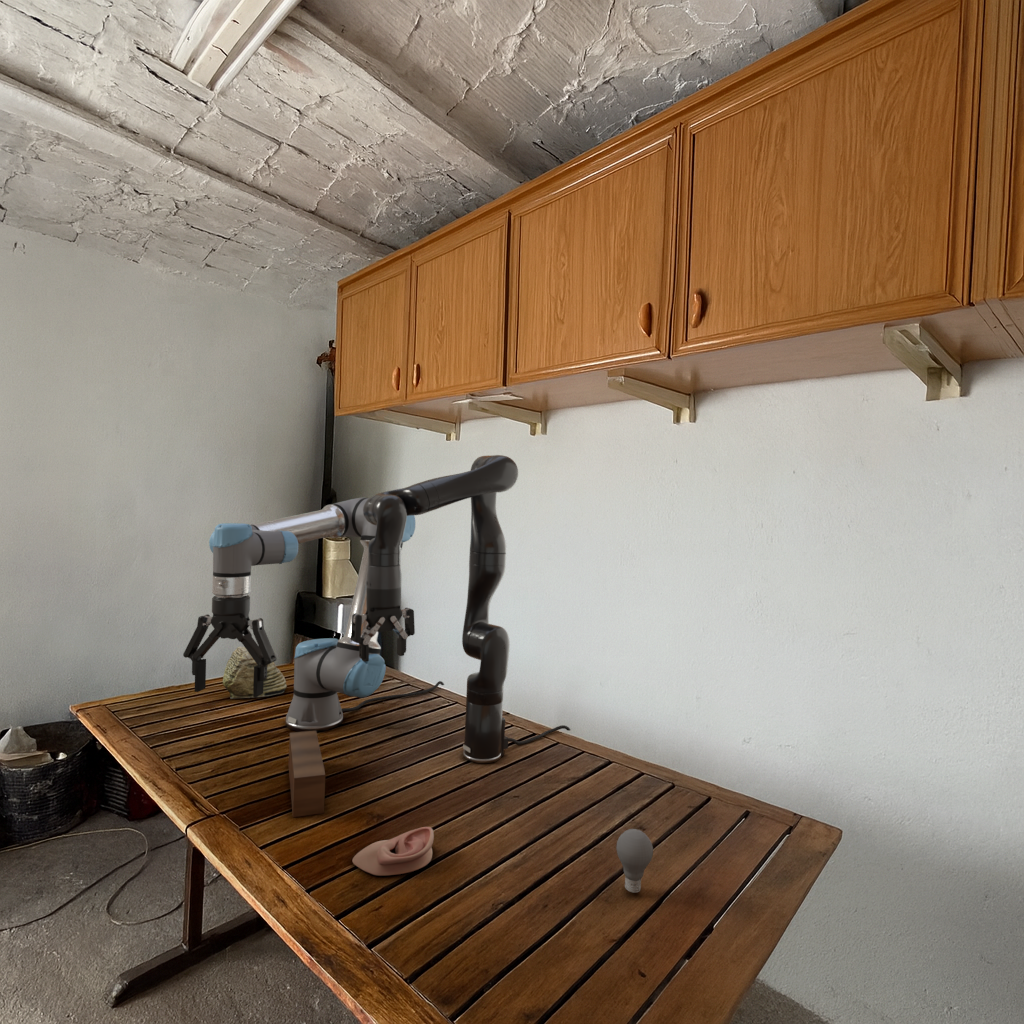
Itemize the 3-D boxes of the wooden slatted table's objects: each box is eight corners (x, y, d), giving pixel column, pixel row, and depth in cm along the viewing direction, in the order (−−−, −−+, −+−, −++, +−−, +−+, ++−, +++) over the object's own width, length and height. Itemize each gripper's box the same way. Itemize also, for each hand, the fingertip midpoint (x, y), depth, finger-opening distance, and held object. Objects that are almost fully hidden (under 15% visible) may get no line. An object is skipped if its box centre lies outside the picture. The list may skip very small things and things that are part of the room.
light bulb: (610, 879, 108) (613, 822, 108) (644, 879, 109) (647, 822, 109) (619, 902, 102) (622, 840, 102) (655, 901, 103) (658, 840, 103)
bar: (288, 765, 148) (289, 732, 148) (314, 763, 150) (316, 730, 150) (292, 817, 125) (294, 778, 125) (323, 813, 127) (325, 774, 127)
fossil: (218, 695, 195) (220, 647, 195) (278, 685, 208) (279, 640, 207) (228, 703, 189) (230, 653, 188) (289, 692, 201) (290, 645, 201)
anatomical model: (344, 847, 108) (373, 814, 119) (343, 870, 108) (372, 835, 119) (418, 859, 105) (440, 825, 116) (417, 883, 105) (439, 846, 116)
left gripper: (166, 594, 134) (164, 693, 135) (276, 601, 131) (273, 703, 132) (189, 589, 142) (187, 682, 142) (294, 595, 138) (291, 692, 139)
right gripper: (360, 590, 132) (360, 667, 133) (421, 584, 140) (420, 657, 141) (346, 585, 138) (345, 659, 138) (405, 580, 146) (404, 649, 147)
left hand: (228, 692), depth 137 cm, fingers open, 13 cm apart
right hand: (383, 657), depth 140 cm, fingers open, 8 cm apart
